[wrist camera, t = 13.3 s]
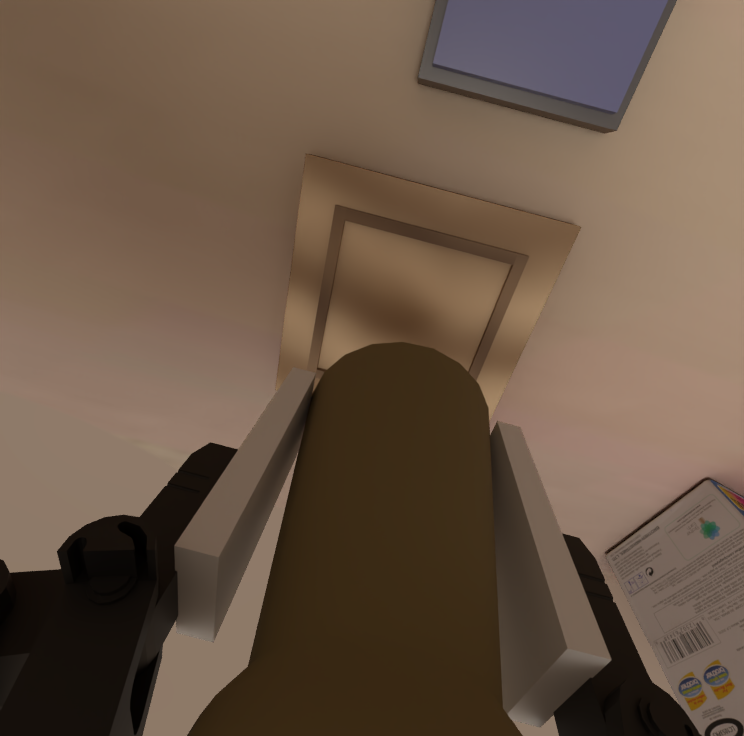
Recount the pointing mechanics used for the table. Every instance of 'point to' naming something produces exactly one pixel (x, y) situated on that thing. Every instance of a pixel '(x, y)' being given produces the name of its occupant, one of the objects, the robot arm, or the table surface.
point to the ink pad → (545, 54)
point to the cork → (380, 565)
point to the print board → (414, 273)
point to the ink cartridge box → (693, 602)
